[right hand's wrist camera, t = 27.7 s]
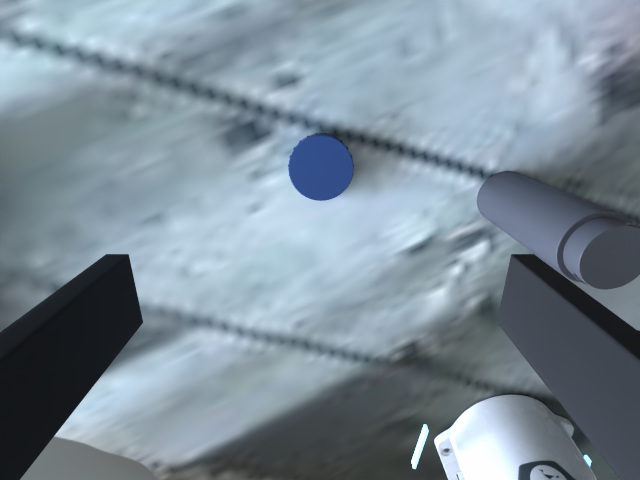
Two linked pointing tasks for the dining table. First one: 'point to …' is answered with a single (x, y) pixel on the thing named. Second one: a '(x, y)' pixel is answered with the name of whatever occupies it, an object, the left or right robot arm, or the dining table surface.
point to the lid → (320, 167)
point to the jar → (564, 229)
